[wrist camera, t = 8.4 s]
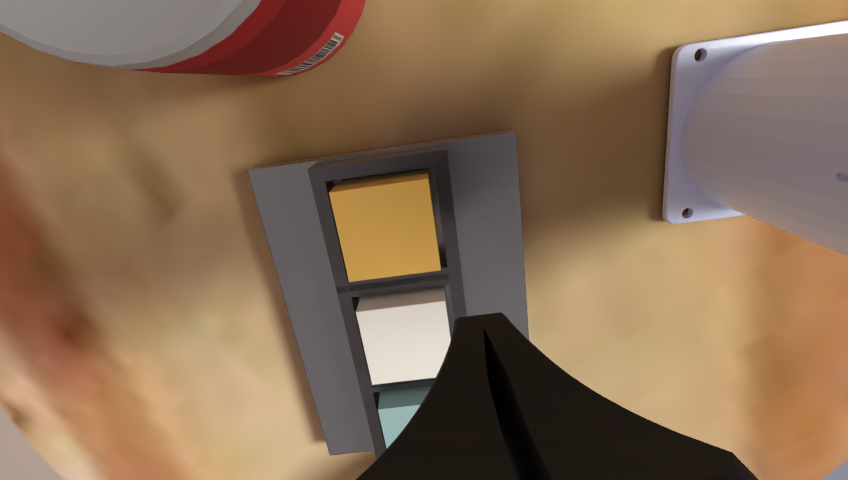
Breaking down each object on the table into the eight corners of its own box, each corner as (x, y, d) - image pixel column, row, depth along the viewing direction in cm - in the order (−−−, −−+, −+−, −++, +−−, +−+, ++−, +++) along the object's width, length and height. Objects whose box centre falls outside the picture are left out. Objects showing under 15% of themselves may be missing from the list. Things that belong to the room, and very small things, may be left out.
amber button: (427, 168, 18) (428, 178, 17) (439, 252, 20) (440, 270, 18) (338, 181, 19) (328, 192, 17) (356, 263, 20) (349, 281, 18)
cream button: (443, 281, 20) (445, 301, 18) (452, 350, 22) (455, 375, 20) (361, 291, 20) (355, 312, 19) (376, 359, 22) (372, 384, 20)
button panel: (510, 129, 19) (523, 135, 17) (529, 417, 25) (541, 453, 23) (257, 165, 20) (234, 177, 17) (334, 439, 26) (324, 476, 23)
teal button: (456, 373, 22) (459, 400, 20) (464, 431, 24) (467, 461, 22) (381, 382, 22) (377, 409, 21) (393, 439, 24) (391, 469, 22)
